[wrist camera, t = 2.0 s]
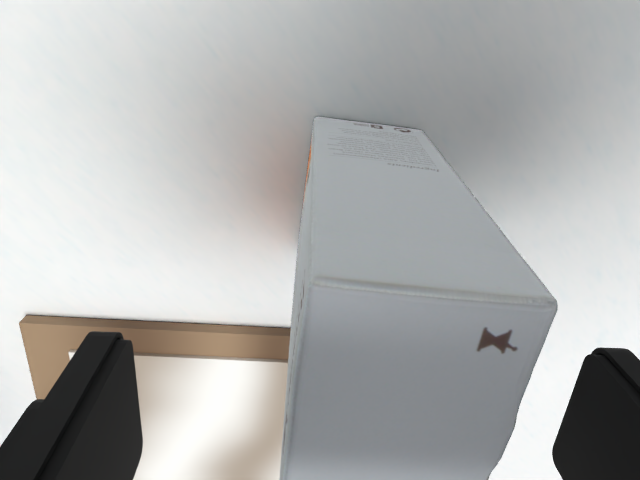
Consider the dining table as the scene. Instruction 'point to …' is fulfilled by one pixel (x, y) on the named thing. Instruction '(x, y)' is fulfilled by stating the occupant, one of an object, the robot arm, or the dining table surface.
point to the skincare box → (403, 316)
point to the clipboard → (187, 391)
